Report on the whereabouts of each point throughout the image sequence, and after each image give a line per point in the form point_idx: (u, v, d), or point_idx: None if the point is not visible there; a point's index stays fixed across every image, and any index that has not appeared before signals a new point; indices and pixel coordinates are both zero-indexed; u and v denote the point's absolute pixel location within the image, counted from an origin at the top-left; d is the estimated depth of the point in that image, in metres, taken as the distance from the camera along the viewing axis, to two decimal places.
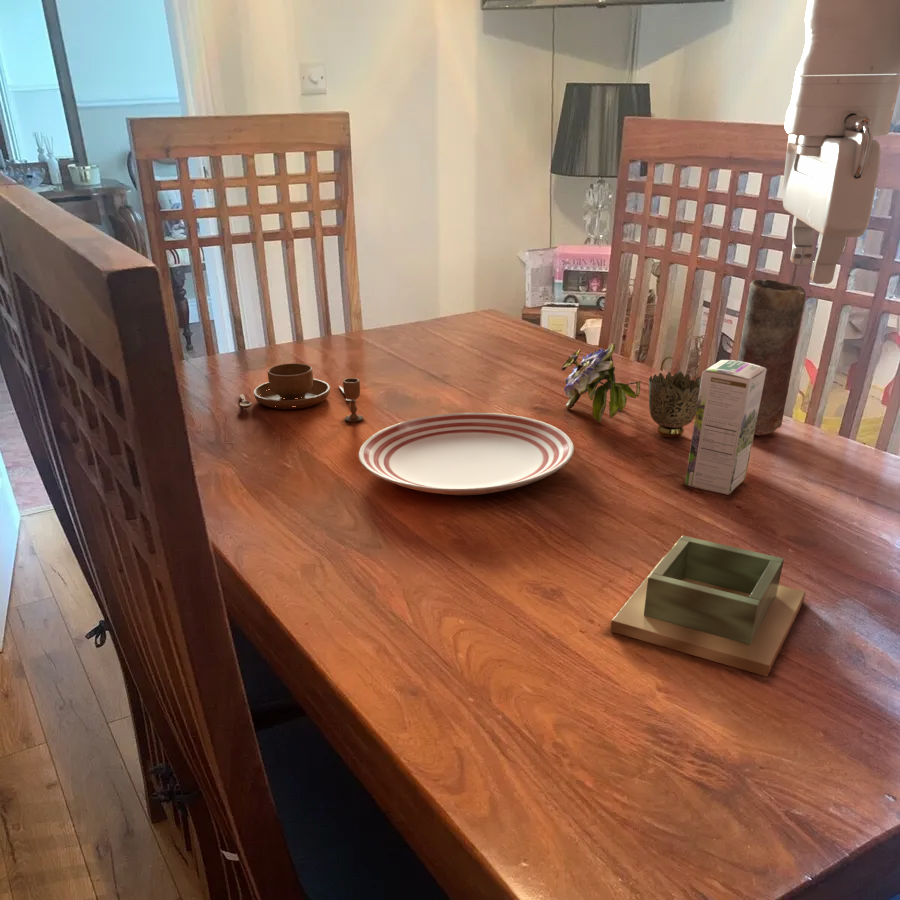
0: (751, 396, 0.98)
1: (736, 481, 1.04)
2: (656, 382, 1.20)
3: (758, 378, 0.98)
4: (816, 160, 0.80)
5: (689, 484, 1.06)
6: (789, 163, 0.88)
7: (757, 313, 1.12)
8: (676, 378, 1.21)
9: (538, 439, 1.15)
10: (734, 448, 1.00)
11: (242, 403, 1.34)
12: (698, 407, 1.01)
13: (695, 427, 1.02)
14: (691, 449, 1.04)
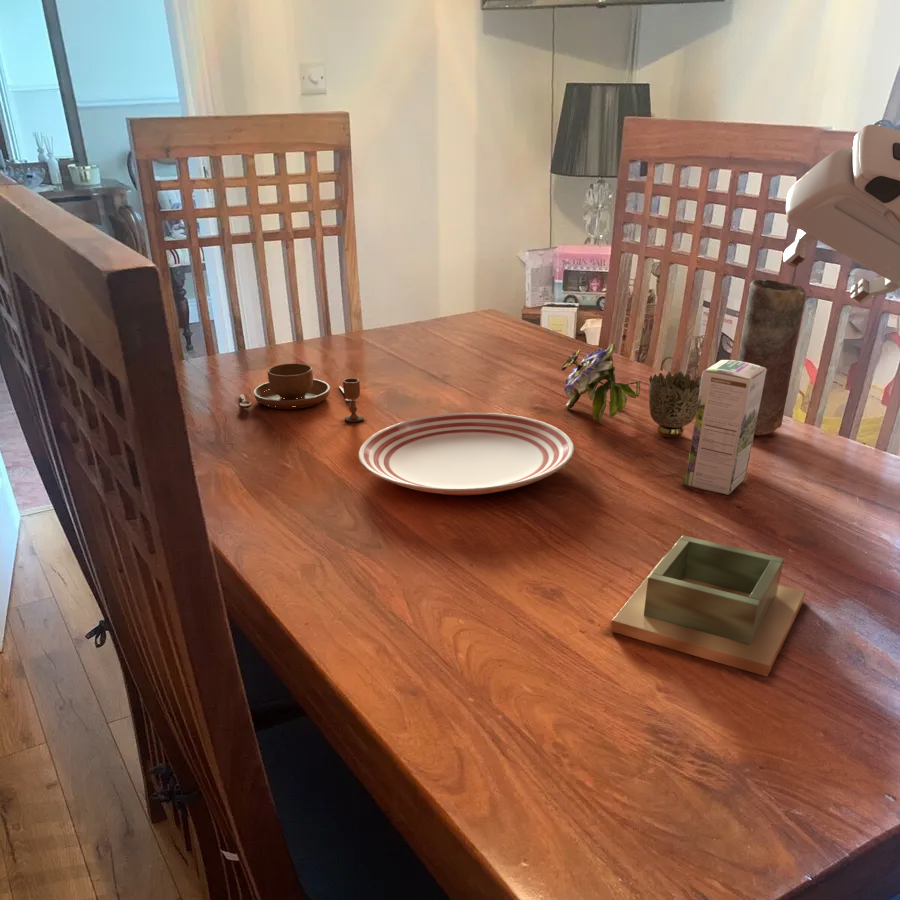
0: (751, 396, 0.98)
1: (736, 481, 1.04)
2: (656, 382, 1.20)
3: (758, 378, 0.98)
4: None
5: (689, 484, 1.06)
6: (828, 200, 0.83)
7: (757, 313, 1.12)
8: (676, 378, 1.21)
9: (538, 439, 1.15)
10: (734, 448, 1.00)
11: (242, 403, 1.34)
12: (698, 407, 1.01)
13: (695, 427, 1.02)
14: (691, 449, 1.04)
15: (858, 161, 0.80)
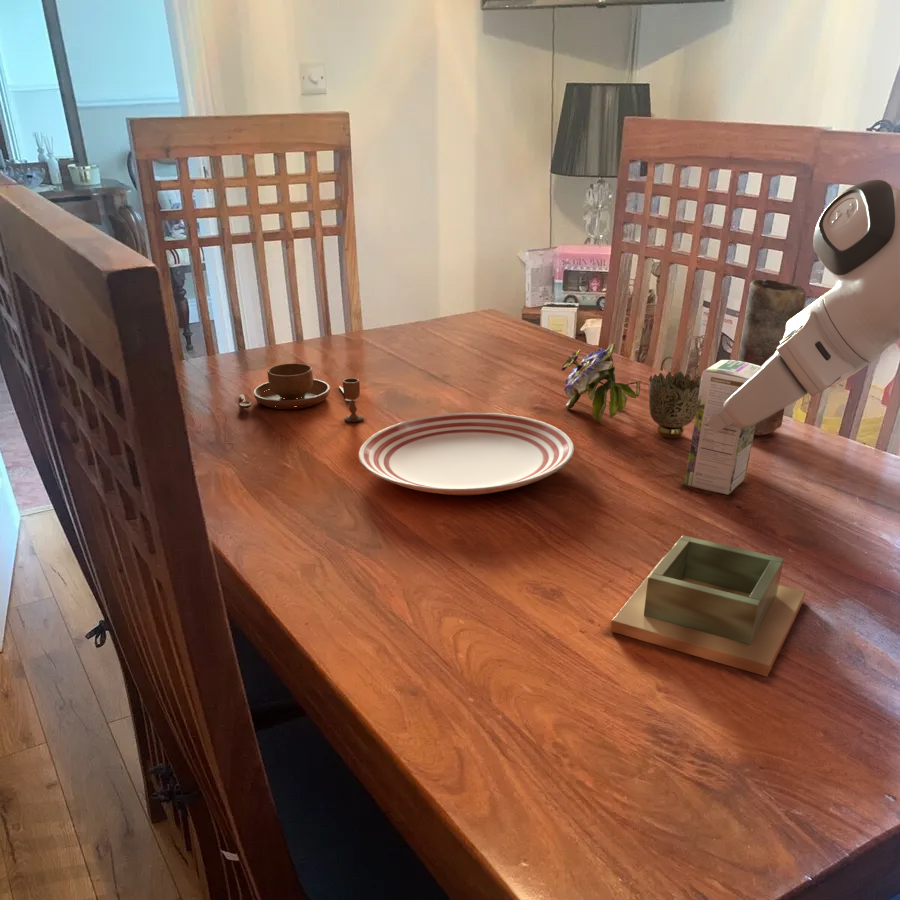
0: None
1: (736, 481, 1.04)
2: (656, 382, 1.20)
3: None
4: None
5: (689, 484, 1.06)
6: None
7: (757, 313, 1.12)
8: (676, 378, 1.21)
9: (538, 439, 1.15)
10: (734, 448, 1.00)
11: (242, 403, 1.34)
12: (698, 407, 1.01)
13: (695, 427, 1.02)
14: (691, 449, 1.04)
15: (808, 378, 0.87)
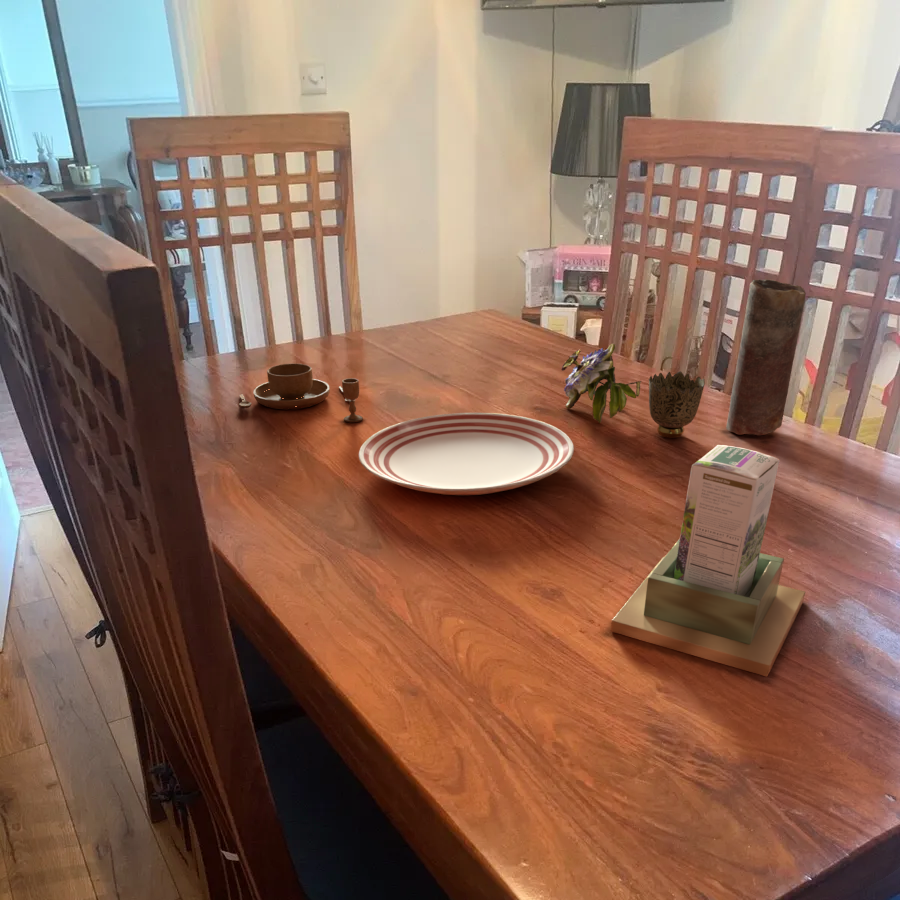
0: (758, 500, 0.71)
1: None
2: (656, 382, 1.20)
3: (769, 475, 0.71)
4: None
5: None
6: None
7: (757, 313, 1.12)
8: (676, 378, 1.21)
9: (538, 439, 1.15)
10: (735, 567, 0.74)
11: (241, 403, 1.34)
12: (686, 511, 0.74)
13: (682, 536, 0.75)
14: (677, 564, 0.77)
15: None
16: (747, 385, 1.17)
